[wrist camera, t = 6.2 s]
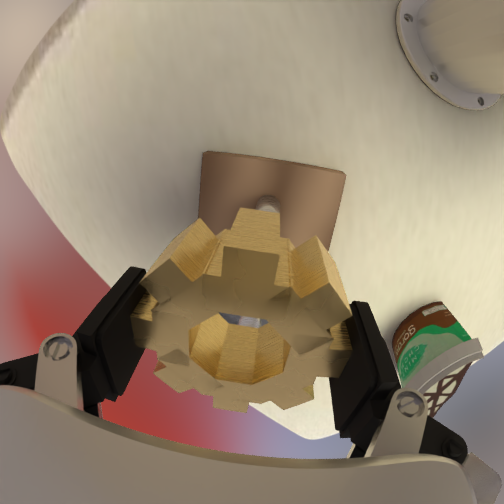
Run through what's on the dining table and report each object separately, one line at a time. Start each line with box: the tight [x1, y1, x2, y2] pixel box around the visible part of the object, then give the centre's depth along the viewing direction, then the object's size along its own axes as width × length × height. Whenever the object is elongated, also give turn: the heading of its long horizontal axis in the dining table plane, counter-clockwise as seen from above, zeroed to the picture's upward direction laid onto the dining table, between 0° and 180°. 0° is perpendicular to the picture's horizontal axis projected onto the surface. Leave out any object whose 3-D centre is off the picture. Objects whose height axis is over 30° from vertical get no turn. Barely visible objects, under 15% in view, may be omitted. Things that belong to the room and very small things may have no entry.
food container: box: [392, 301, 484, 418], centre depth 24 cm, size 12×6×10 cm, turn 1°
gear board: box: [198, 151, 346, 251], centre depth 25 cm, size 11×16×2 cm
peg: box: [255, 195, 280, 213], centre depth 19 cm, size 2×2×5 cm
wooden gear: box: [130, 207, 352, 413], centre depth 10 cm, size 7×7×3 cm
